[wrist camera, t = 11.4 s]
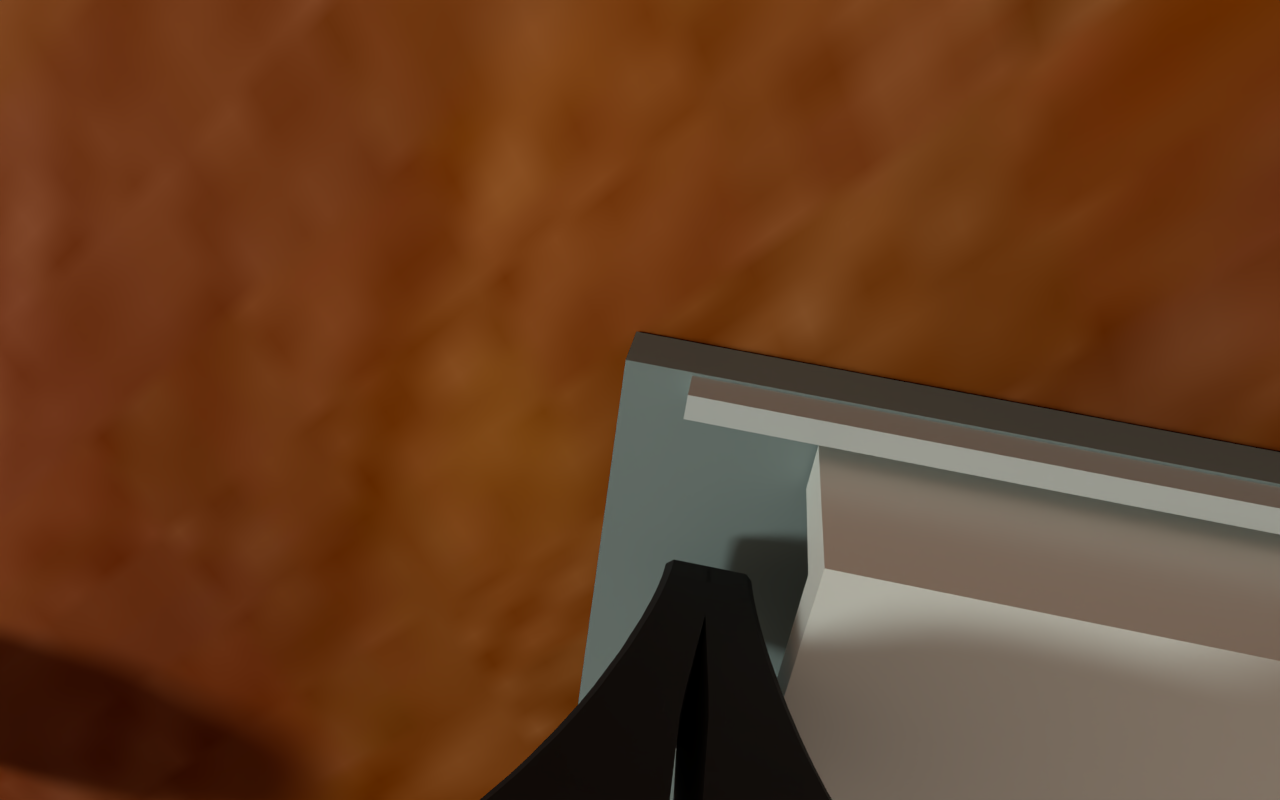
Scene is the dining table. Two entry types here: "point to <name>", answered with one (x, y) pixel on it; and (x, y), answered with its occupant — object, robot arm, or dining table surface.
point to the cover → (1028, 643)
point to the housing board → (858, 422)
